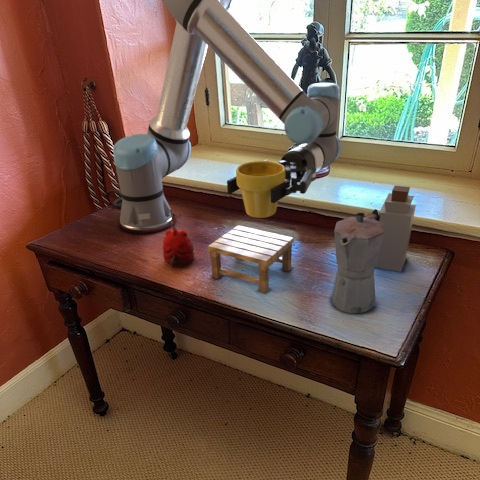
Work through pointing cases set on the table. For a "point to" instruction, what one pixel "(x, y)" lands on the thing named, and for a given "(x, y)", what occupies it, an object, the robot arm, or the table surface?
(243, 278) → the plant rack
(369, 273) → the moka pot
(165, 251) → the red clay folk toy
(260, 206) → the flower pot
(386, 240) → the perfume bottle
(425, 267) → the table surface
